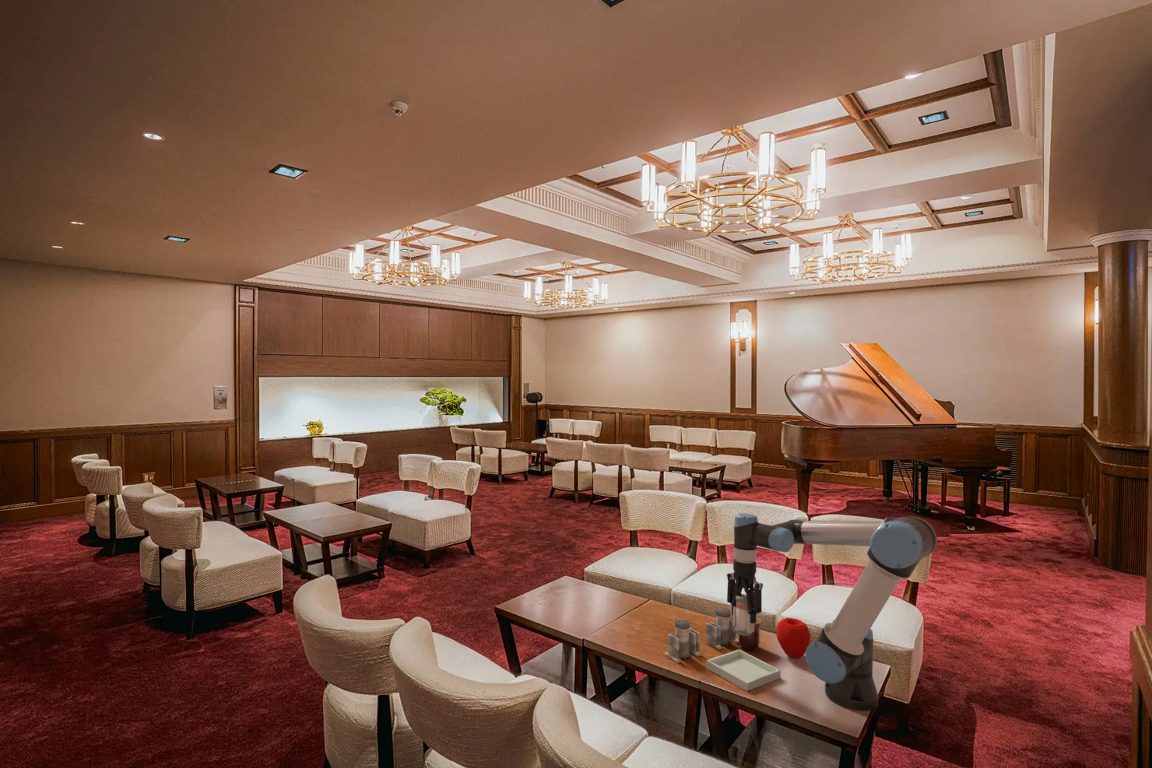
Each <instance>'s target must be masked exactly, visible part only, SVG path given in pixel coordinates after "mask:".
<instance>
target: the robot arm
mask: <svg viewBox="0 0 1152 768" xmlns="http://www.w3.org/2000/svg"><path fill="white" fill-rule="evenodd" d="M733 525H734V526H733V533H734V534H733V556H732V557H733V561H732V563H733V565H732V566H733V567H732V570H733V572H730V573H729V572H728V573H727V574H726V576H727V577H726V578H727V595H726V601H727V603H729V604H730V605H731V615H732V621H733V626H734V627H735V626H736V595H739V594H742V592H743V590H744V593H745V594H746V596H747V601H748V607H749V612H748V613H747V633H752V632H754V623H756V617H757V615H758V614H760V613H762V611H763V609H762V605H763V604H762V598H763V597H762V592H763V586H764V584H763V583H762V582H759V581H757V579H756V573H757V562H756V561H757V554H758V553H757V550H758V547H761V548H764V549H767V550H772V551H775V552H778V553H779V552H780V553H788V552H790V551H791V549H792V548H793V546H794V545H796V544H797V545H823V546H824V545H825V546H826V545H829V546H850V547H851V546H853V547H869V548H868V549H867V550H868V551H867V552H866V556H867V558H868V560H869V561H868V562H867V564H866V566H865V568H864V569H863V571H862V572H861V574H860V576H859V578H858V580H857V581H856V582H855V585H854V586H853V589H852V590H851V592H850V593H849V595H848V596H847V598H846V600H845V602H844V603H843V605H842V607H841V608H840V611H839V612H838V614H837V615H836V617H835V619H834V620H832V622H828V623H826V624H825V625H824V626H823V628H822V629H821V631H820V632H819V634H818V636H817V638H816V640H814V641H812V642H810V644H809V646H808V647H807V649H806V652H805V654H804V657H805V660H806V663H807V666H808V667H809V670H810V671H811V672H812V674H813V675H814V676H815V677H817V678H818V679H819V680H820V681H822V682H825V683H824V693H825V695H826V697H827V698H828V699H829V700H831V701H832V702H834V703H836V704H837V705H840V706H842V707H844V708H847V709H850V710H856V711H871V710H874V709H876V708H877V707H878V706H879V700H880V699H879V693H878V691H877V688H876V685H875V684H876V683H875V680H874V677H873V671H874V670H873V667H874V665H873V664H874V642H875V641H874V640H875V639H874V633H873V630H872V629H871V628H872V627H873V625H874V624H875V622H876V620H877V619H878V617H879V616H880V613H881V612H882V610H883V609H884V607H885V605H886V604H887V602H888V600H889V599H890V597H891V596H892V594H893V592H894V591H895V589H896V587H897V586H898V584H899V583H900V581H901V580H907V579H909V578H911V576H912V574H913V572H914V571H915V569H916V567H918V565H919V563H920V561H921V560H922V559H924V558H927V557H928V556H929V555H930V554H932V553H933V552H934V551H935V549H936V547H937V542H938V537H937V534H936V531H935V529H934V527H933V526H932V525H931V524H930V523H929V522H927V521H926V520H925V519H923V518H921V517H918V516H913V515H911V516H909V515H908V516H901V517H885V518H884V520H879V521H878V520H876V521H875V520H872V521H871V520H803V519H802V520H801V519H799V518H798V519H796V518H795V519H790V520H786V521H784V522H781V523H776V524H773V525H771V524H764V523H761V522H759V521H758V516H757V515H755V514H753V513H746V512H744V513H743V512H742V513H737V514H735V516H734V524H733Z"/></svg>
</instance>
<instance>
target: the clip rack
mask: <svg viewBox="0 0 1152 768" xmlns="http://www.w3.org/2000/svg"><path fill="white" fill-rule="evenodd" d="M715 615H716V618H715V620H716V621H715V623H714V622H712V621H710V622H707V623H705V639H704V643H705V644H708V645H709V646H711V647H712V648H714V649H717V650H722V649H723V647H724V646H730V644H731V642H732V643H734V644H735V645H736V644H739V639H737V638H736V637H737V633H736V632H735V627H734V626H733V619H730V617H731V610H730V609H728V608H726V607H725V608H724V607H718V608H716V609H715ZM674 626H675V633H674V634H675V635H673V634H671V633H668V634H667V651H665V652H663V656H665V657H666V658H668V659H669V660H671V661H672V662H674V663H676V664H679V663H681V662H682V660H686V659H689V658H690V654H692V655H694V656H695V657H700V656H701V652H700V650H701V649H700V644H701V643H700V642H701V640H700V639H701V636H700V635H701V633H700V632H698V631H696V630H695V629H693V628H691V621H690V620H689V619H686V618H677V619H675V620H674Z"/></svg>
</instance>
